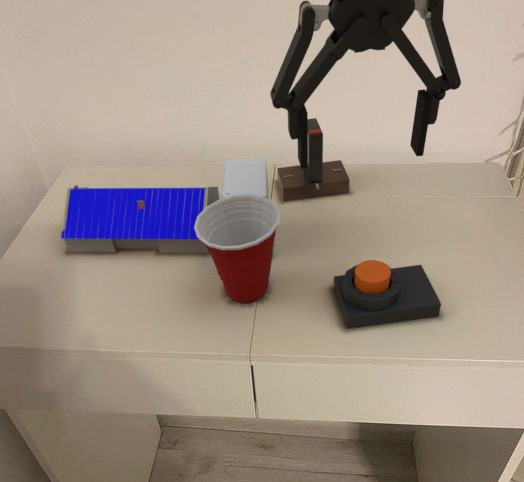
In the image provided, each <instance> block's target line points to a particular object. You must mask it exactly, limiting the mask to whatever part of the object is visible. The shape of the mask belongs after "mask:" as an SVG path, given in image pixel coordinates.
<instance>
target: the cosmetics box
mask: <svg viewBox="0 0 524 482" xmlns="http://www.w3.org/2000/svg"><path fill="white" fill-rule="evenodd" d="M267 166H268V165H267V159H266V158H265V157H263V158H262V157H261V158H240V159H239V158H238V159H237V158H235V159H225V160H224V166H223V167H224V169H223V180H222V181H223V182H222V193H221V199H223V198H226V197H230V196H233V195H246V194H252V195H257V196H262V197H265V198H267V199H269V200H270V197H269V180H268V167H267Z"/></svg>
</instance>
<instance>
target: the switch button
mask: <svg viewBox="0 0 524 482" xmlns="http://www.w3.org/2000/svg"><path fill="white" fill-rule="evenodd" d="M356 265H357V267H356V269H355V279H354V284H355V287H356V288H357V289H358V290H359V291H361V292H363V293H368V294H379V293H383V292H384V291H386V290H387V289H388V287H389V282H390V275H391V270H390V268H391V267H390V265H388V264H387V263H386V262H383V261H381V260H377V259H368V260H363V261H361V262H359V263H358V264H356ZM389 267H390V268H389Z"/></svg>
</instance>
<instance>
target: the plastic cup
mask: <svg viewBox="0 0 524 482" xmlns="http://www.w3.org/2000/svg"><path fill="white" fill-rule="evenodd" d="M280 218H281V211H280V209H279V208H278V205H277V204H276V202H274V201H272V200H270V198H269V199H267V198H265V197H262V196H257V195H252V194H246V195H233V196H230V197H226V198H223V199H222V198H220V200H218V201H216V202H214V203H212V204H211V205H209V206H207V207H206V208H205V209H204V210H203V211H202V212H201V213H200V214H199V215H198V216H197V219H196V222H195V225H194V229H195V232H196V235H197V237H198V239H199V240H201V241H202V242H203V243H204V244H205V246H206V247H207V249H208V251H209V252H208V253H209V254H210V256H211V258H212V262H213V264H214V267H215V270H216V272H217V274H218V277H219V279H220V281H221V282H222V285H223V287H224V290H225V293H226V295H227V296H228V298H229V299H231V301H233V302H235V303H239V304H251V303H255V302H257V301H259V300H261V299H263V298H264V296H265V295H266V294H267V292H268V291H267V290H268V288H269V281H270V276H271V270H272V269H271V268H272V261H273V252H274V245H275V244H274V243H275V240H276V239H275V238H276V233H277V229H278V228H279V224H280Z"/></svg>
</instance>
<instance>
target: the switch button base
mask: <svg viewBox="0 0 524 482" xmlns="http://www.w3.org/2000/svg"><path fill="white" fill-rule="evenodd" d="M357 265H358V264H356V265H354V266H352V267H351V268H349V269H347V270H346V271H345V273H344V274H341V275H334V276H333V292H334V294H335V297H336V301H337V303H338V306H339V309H340V313H341V315H342V319H343V321H344V324H345V328H346V329H355V328H363V327H370V326H377V325H386V324H390V323H391V324H393V323H399V322H407V321H413V320H422V319H428V318H434V317H435V318H436V317H437V318H438V317H439V316H440V312H441V307H442V302H441V301H440V298H439V296H438V295H437V292H436V291H435V289H434V286H433V284H432V282H431V281H430V279H429V277H428V275H427V273H426V271H425V269H424V267H423V265H422V264H417V265H416V264H415V265H409V266H408V265H407V266H401V267H400V266H399V267H393V268H392V267H390V266H389V268H390V270H391V275H390V282H389V287H388V289H387V290H386V291H384V292H383V293H379V294H368V293H363V292H361V291H359V290H358V289H357V288H356V287H355V284H354V279H355V269H356V267H357Z"/></svg>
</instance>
